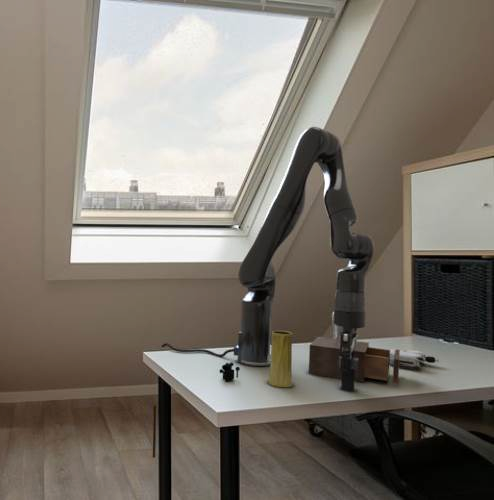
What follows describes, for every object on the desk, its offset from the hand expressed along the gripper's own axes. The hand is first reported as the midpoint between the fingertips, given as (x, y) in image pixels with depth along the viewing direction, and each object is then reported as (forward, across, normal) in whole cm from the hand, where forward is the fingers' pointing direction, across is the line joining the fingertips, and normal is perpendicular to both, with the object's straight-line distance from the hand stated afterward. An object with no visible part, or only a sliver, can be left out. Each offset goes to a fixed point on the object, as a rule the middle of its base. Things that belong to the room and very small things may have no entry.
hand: (347, 368), depth 127 cm
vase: (+6, +6, -16) cm, 18 cm away
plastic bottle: (+6, -32, -5) cm, 33 cm away
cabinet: (+6, -17, -4) cm, 18 cm away
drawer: (+5, -17, +7) cm, 19 cm away
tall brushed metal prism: (+6, 0, 0) cm, 6 cm away
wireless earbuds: (+6, +11, -29) cm, 31 cm away
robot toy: (+6, -40, +14) cm, 43 cm away
